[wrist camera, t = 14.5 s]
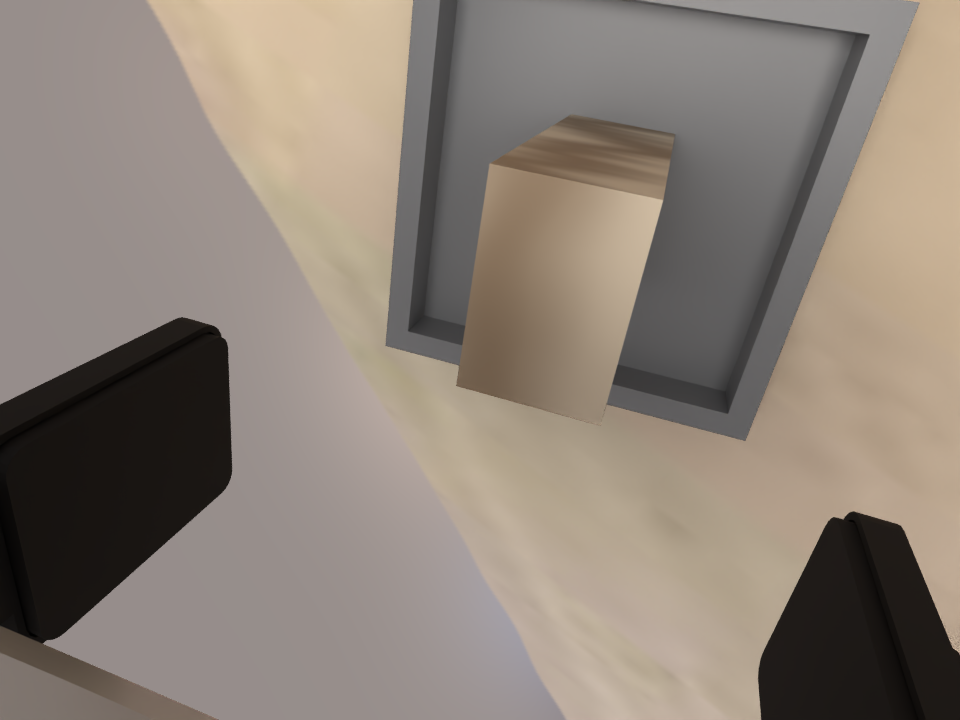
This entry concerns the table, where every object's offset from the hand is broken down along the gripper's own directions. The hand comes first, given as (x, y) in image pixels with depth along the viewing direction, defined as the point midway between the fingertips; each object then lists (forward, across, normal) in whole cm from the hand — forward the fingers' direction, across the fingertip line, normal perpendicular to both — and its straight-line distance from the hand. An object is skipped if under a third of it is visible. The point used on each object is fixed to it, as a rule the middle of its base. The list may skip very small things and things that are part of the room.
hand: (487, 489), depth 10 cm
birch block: (+19, +1, -1) cm, 19 cm away
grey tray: (+20, +1, -1) cm, 20 cm away
